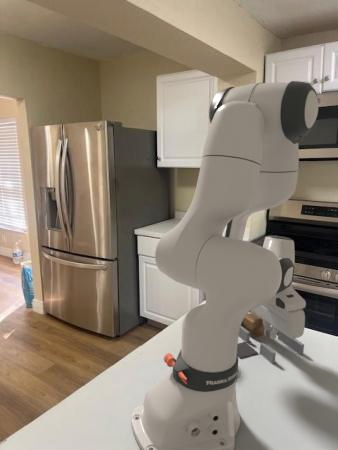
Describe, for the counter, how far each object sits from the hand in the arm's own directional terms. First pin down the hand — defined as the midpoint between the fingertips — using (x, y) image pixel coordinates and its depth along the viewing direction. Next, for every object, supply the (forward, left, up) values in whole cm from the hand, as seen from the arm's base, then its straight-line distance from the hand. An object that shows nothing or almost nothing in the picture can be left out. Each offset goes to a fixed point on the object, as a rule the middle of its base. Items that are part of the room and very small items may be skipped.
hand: (270, 336), depth 97 cm
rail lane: (0, +2, -3) cm, 3 cm away
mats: (-1, +3, -3) cm, 4 cm away
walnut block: (0, +8, -3) cm, 9 cm away
